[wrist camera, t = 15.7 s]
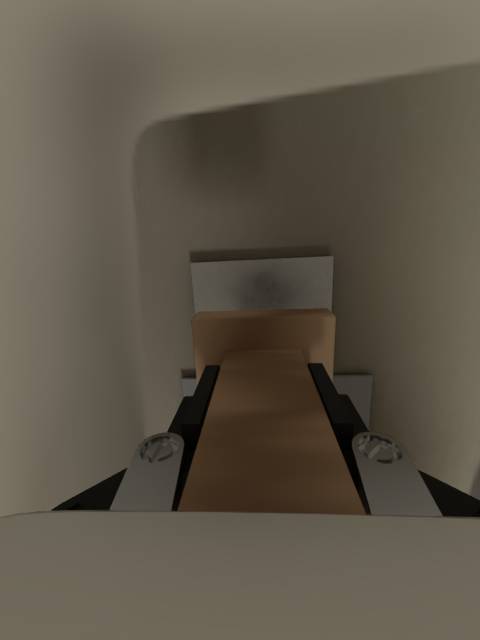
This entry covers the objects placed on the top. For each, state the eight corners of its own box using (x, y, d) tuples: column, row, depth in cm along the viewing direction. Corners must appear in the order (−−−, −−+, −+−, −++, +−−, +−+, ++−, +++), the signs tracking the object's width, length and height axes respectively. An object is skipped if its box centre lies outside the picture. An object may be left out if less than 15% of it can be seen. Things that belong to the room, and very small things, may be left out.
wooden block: (327, 308, 13) (577, 548, 3) (322, 421, 14) (471, 837, 4) (198, 311, 13) (9, 529, 3) (207, 421, 15) (100, 798, 5)
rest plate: (331, 255, 24) (333, 256, 23) (328, 365, 26) (329, 367, 26) (191, 262, 25) (190, 262, 24) (201, 367, 27) (200, 370, 27)
